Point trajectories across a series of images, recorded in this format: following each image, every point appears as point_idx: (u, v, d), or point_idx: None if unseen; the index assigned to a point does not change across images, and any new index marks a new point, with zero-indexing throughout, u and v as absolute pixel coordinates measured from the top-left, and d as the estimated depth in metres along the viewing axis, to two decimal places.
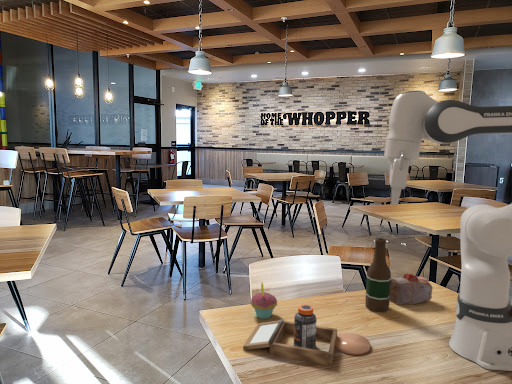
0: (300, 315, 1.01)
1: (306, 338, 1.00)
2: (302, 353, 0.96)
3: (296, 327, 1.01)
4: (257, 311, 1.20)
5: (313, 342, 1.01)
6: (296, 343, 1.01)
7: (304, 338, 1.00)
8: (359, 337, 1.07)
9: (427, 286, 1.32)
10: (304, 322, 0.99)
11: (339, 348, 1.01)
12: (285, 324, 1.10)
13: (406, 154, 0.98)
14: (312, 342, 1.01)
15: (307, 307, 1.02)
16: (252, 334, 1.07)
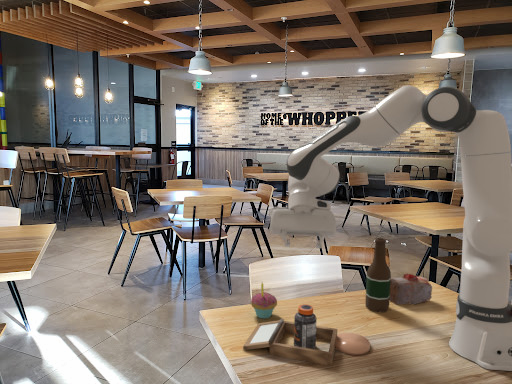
0: (300, 315, 1.01)
1: (306, 338, 1.00)
2: (302, 353, 0.96)
3: (296, 327, 1.01)
4: (257, 311, 1.20)
5: (313, 342, 1.01)
6: (296, 343, 1.01)
7: (304, 338, 1.00)
8: (359, 337, 1.07)
9: (427, 286, 1.32)
10: (304, 322, 0.99)
11: (339, 348, 1.01)
12: (285, 324, 1.10)
13: (289, 207, 1.20)
14: (312, 342, 1.01)
15: (307, 307, 1.02)
16: (252, 334, 1.07)
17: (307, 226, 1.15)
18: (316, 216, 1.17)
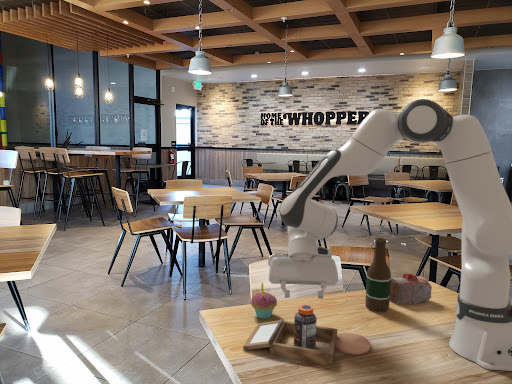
0: (300, 315, 1.01)
1: (306, 338, 1.00)
2: (302, 353, 0.96)
3: (296, 327, 1.01)
4: (257, 311, 1.20)
5: (313, 342, 1.01)
6: (296, 343, 1.01)
7: (304, 338, 1.00)
8: (359, 337, 1.07)
9: (426, 286, 1.32)
10: (304, 322, 0.99)
11: (339, 348, 1.01)
12: (285, 324, 1.10)
13: (288, 254, 1.15)
14: (312, 342, 1.01)
15: (307, 307, 1.01)
16: (252, 334, 1.07)
17: (307, 275, 1.10)
18: (317, 263, 1.12)
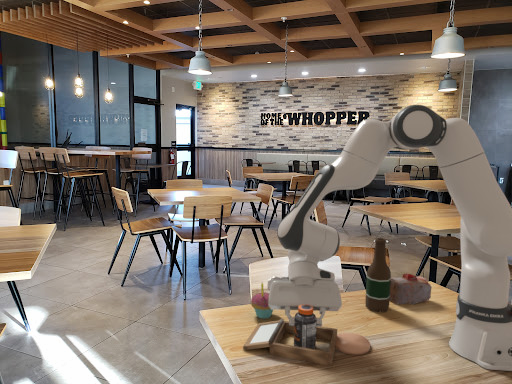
0: (300, 315, 1.01)
1: (306, 338, 1.00)
2: (302, 353, 0.96)
3: (296, 327, 1.01)
4: (257, 311, 1.20)
5: (313, 342, 1.01)
6: (296, 343, 1.01)
7: (304, 338, 1.00)
8: (359, 337, 1.07)
9: (426, 286, 1.32)
10: (304, 322, 0.99)
11: (339, 348, 1.01)
12: (285, 324, 1.10)
13: (289, 277, 1.09)
14: (312, 341, 1.01)
15: (307, 307, 1.02)
16: (252, 334, 1.07)
17: (309, 301, 1.04)
18: (319, 288, 1.07)
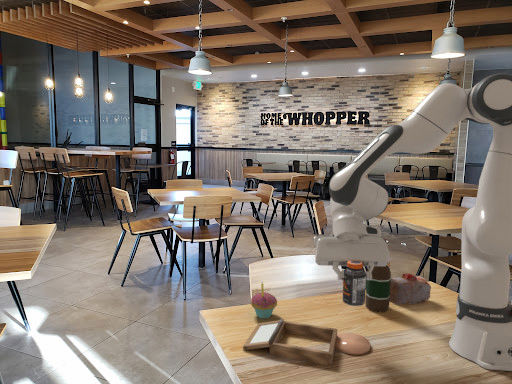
0: (350, 270, 1.00)
1: (357, 292, 0.99)
2: (302, 353, 0.96)
3: (346, 282, 1.01)
4: (257, 311, 1.20)
5: (363, 296, 1.00)
6: (346, 298, 1.01)
7: (354, 292, 0.99)
8: (359, 337, 1.07)
9: (426, 285, 1.32)
10: (354, 276, 0.99)
11: (339, 348, 1.01)
12: (285, 324, 1.10)
13: (334, 234, 1.09)
14: (363, 296, 1.00)
15: (356, 262, 1.01)
16: (252, 334, 1.07)
17: (357, 255, 1.04)
18: (366, 244, 1.06)
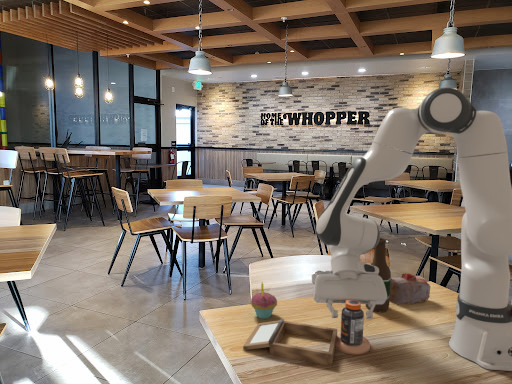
0: (348, 310, 1.02)
1: (354, 333, 1.01)
2: (302, 353, 0.96)
3: (344, 322, 1.02)
4: (257, 311, 1.20)
5: (361, 337, 1.02)
6: (344, 338, 1.02)
7: (352, 333, 1.01)
8: None
9: (425, 285, 1.32)
10: (352, 317, 1.00)
11: (339, 348, 1.01)
12: (285, 324, 1.10)
13: (333, 271, 1.11)
14: (360, 336, 1.02)
15: (354, 302, 1.03)
16: (252, 334, 1.07)
17: (355, 294, 1.05)
18: (364, 281, 1.08)
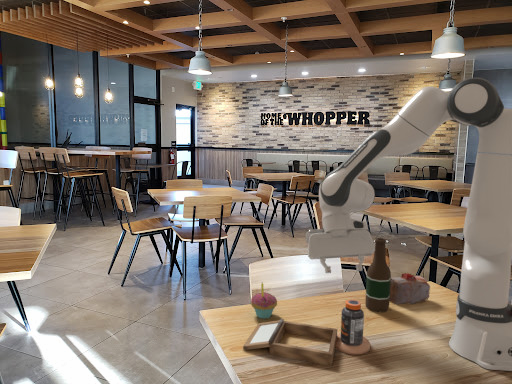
0: (348, 310, 1.02)
1: (354, 333, 1.01)
2: (302, 353, 0.96)
3: (344, 322, 1.02)
4: (257, 311, 1.20)
5: (361, 337, 1.02)
6: (344, 338, 1.02)
7: (352, 333, 1.01)
8: None
9: (425, 285, 1.33)
10: (352, 317, 1.00)
11: (339, 348, 1.01)
12: (285, 324, 1.10)
13: (324, 229, 1.18)
14: (360, 336, 1.02)
15: (355, 302, 1.03)
16: (252, 334, 1.07)
17: (345, 250, 1.15)
18: (353, 237, 1.16)
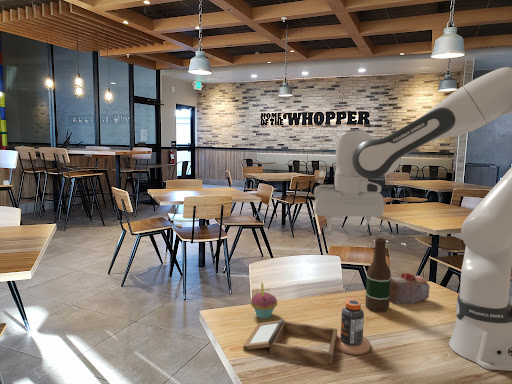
0: (348, 310, 1.02)
1: (354, 333, 1.01)
2: (302, 353, 0.96)
3: (344, 322, 1.02)
4: (257, 311, 1.20)
5: (361, 337, 1.02)
6: (344, 338, 1.02)
7: (352, 333, 1.01)
8: None
9: (425, 285, 1.33)
10: (352, 317, 1.00)
11: (339, 348, 1.01)
12: (285, 324, 1.10)
13: (335, 186, 1.12)
14: (360, 336, 1.02)
15: (355, 302, 1.03)
16: (252, 334, 1.07)
17: (353, 212, 1.12)
18: (364, 198, 1.11)
